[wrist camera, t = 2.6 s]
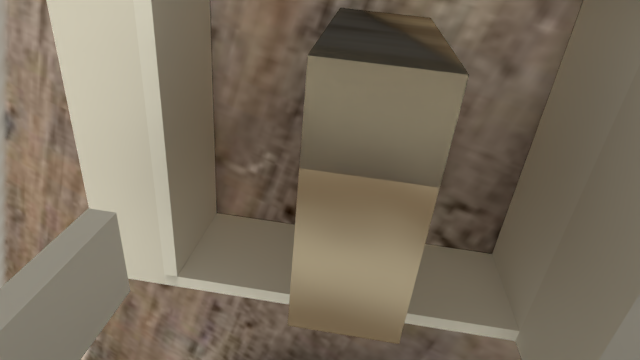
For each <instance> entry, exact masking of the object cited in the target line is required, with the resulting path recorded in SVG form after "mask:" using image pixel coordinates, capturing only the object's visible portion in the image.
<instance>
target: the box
mask: <svg viewBox="0 0 640 360" xmlns="http://www.w3.org/2000/svg"><path fill="white" fill-rule="evenodd" d="M468 77H469V74H468V73H467V71H466V70H465V68H464V67H463V65H462V64H461V62H460V61H459V59H458V58H457V56H456V55H455V53H454V52H453V50H452V49H451V47H450V46H449V44H448V43H447V41H446V40H445V39H444V37H443V36H442V34H441V33H440V31H439V30H438V28H437V27H436V25H435V24H434V22H433V21H432V19H431V18H425V17H416V16H407V15H398V14H390V13H381V12H372V11H363V10H354V9H345V8H340V9H339V11H338V12H337V14H336V15H335V17H334V18H333V19H332V21H331V22H330V24H329V25H328V27H327V28H326V30H325V31H324V32H323V34H322V35H321V37H320V38H319V40H318V41H317V43H316V44H315V45H314V47H313V48H312V50H311V51H310V53H309V54H308V58H307V71H306V85H305V98H304V111H303V125H302V138H301V152H300V165H299V178H298V192H297V205H296V219H295V232H294V245H293V259H292V272H291V286H290V299H289V312H288V326H293V327H299V328H305V329H311V330H317V331H323V332H329V333H335V334H341V335H348V336H354V337H360V338H366V339H372V340H378V341H384V342H390V343H396V344H399V342H400V338H401V334H402V331H403V327H404V323H405V319H406V315H407V311H408V307H409V304H410V300H411V296H412V292H413V288H414V284H415V281H416V277H417V273H418V269H419V265H420V261H421V258H422V254H423V250H424V246H425V242H426V238H427V235H428V231H429V227H430V223H431V219H432V215H433V212H434V208H435V204H436V200H437V196H438V192H439V189H440V185H441V181H442V177H443V173H444V169H445V166H446V162H447V158H448V154H449V150H450V146H451V142H452V139H453V135H454V131H455V127H456V123H457V119H458V116H459V112H460V108H461V104H462V100H463V96H464V93H465V89H466V85H467V81H468Z"/></svg>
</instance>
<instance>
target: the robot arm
mask: <svg viewBox="0 0 640 360" xmlns="http://www.w3.org/2000/svg"><path fill="white" fill-rule="evenodd" d="M129 292H130V287H129V281H128V275H127V270H126V264H125V258H124V253H123V247H122V242H121V236H120V230H119V225H118V219H117V213H115V212H109V211H102V210H95V209H89V208H88V209H87V210H86V211H85V212H84V213H83V214H82V215H81V216H79V217H78V218H77V219H76V220H75V221H74V222H73V223H72V224H71V225H70V226H68V227H67V228H66V229H65V230H64V231H63V232H62V233H61V234H60V235H59V236H57V237H56V238H55V239H54V240H53V241H52V242H51V243H50V244H49V245H47V246H46V247H45V248H44V249H43V250H42V251H41V252H40V253H39V254H38V255H36V256H35V257H34V258H33V259H32V260H31V261H30V262H29V263H28V264H27V265H25V266H24V267H23V268H22V269H21V270H20V271H19V272H18V273H17V274H16V275H14V276H13V277H12V278H11V279H10V280H9V281H8V282H7V283H6V284H5V285H3V286H2V287H1V288H0V360H81V358H82V357H83V355H84V354H85V353H86V351H87V350H88V348H89V347H90V346H91V344H92V343H93V342H94V340H95V339H96V337H97V336H98V335H99V333H100V332H101V331H102V329H103V328H104V326H105V325H106V324H107V322H108V321H109V319H110V318H111V317H112V315H113V314H114V313H115V311H116V310H117V308H118V307H119V306H120V304H121V303H122V301H123V300H124V299H125V297H126V296H127V295H128V293H129ZM599 360H640V294H639V296H638V298H637V299H636V301H635V302H634V304H633V306H632V307H631V309H630V310H629V312H628V314H627V315H626V317H625V318H624V320H623V322H622V323H621V325H620V326H619V328H618V330H617V331H616V333H615V334H614V336H613V338H612V339H611V341H610V342H609V344H608V346H607V347H606V349H605V351H604V352H603V354H602V355H601V357H600V359H599Z"/></svg>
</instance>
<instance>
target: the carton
mask: <svg viewBox="0 0 640 360" xmlns="http://www.w3.org/2000/svg"><path fill="white" fill-rule="evenodd" d="M46 1H47V5H48V10H49V15H50V20H51V25H52V30H53V35H54V40H55V45H56V49H57V54H58V59H59V64H60V69H61V74H62V79H63V84H64V89H65V93H66V98H67V103H68V108H69V113H70V118H71V123H72V128H73V133H74V137H75V142H76V147H77V152H78V157H79V162H80V167H81V172H82V177H83V181H84V186H85V191H86V196H87V201H88V206H89V209H95V210H102V211H109V212H115V213H117V219H118V225H119V230H120V236H121V242H122V247H123V253H124V258H125V264H126V270H127V275H128V278H129V279H135V280H141V281H147V282H153V283H159V284H166V285H172V286H178V287H184V288H190V289H196V290H203V291H209V292H215V293H221V294H227V295H234V296H240V297H246V298H252V299H258V300H264V301H271V302H277V303H283V304H289V299H290V286H291V272H292V259H293V245H294V232H295V225H294V224H287V223H281V222H274V221H267V220H260V219H254V218H247V217H240V216H234V215H227V214H220V213H217V204H216V174H215V143H214V112H213V82H212V51H211V21H210V0H46ZM639 294H640V0H583V3H582V6H581V9H580V11H579V14H578V17H577V20H576V22H575V25H574V28H573V31H572V34H571V36H570V39H569V42H568V45H567V47H566V50H565V53H564V56H563V59H562V61H561V64H560V67H559V70H558V72H557V75H556V78H555V81H554V83H553V86H552V89H551V92H550V95H549V97H548V100H547V103H546V106H545V108H544V111H543V114H542V117H541V120H540V122H539V125H538V128H537V131H536V133H535V136H534V139H533V142H532V145H531V147H530V150H529V153H528V156H527V158H526V161H525V164H524V167H523V169H522V172H521V175H520V178H519V181H518V183H517V186H516V189H515V192H514V194H513V197H512V200H511V203H510V206H509V208H508V211H507V214H506V217H505V219H504V222H503V225H502V228H501V231H500V233H499V236H498V239H497V242H496V244H495V247H494V250H493V253H492V254H489V253H482V252H475V251H469V250H462V249H455V248H448V247H442V246H435V245H428V244H425V246H424V250H423V254H422V258H421V261H420V265H419V269H418V273H417V277H416V281H415V284H414V288H413V292H412V296H411V300H410V304H409V307H408V311H407V315H406V319H405V323H407V324H413V325H419V326H425V327H431V328H437V329H444V330H450V331H456V332H462V333H468V334H474V335H481V336H487V337H493V338H499V339H505V340H512V341H515V342H516V345H517V348H518V351H519V354H520V357H521V360H599V359H600V357H601V355H602V354H603V352H604V351H605V349H606V347H607V346H608V344H609V342H610V341H611V339H612V338H613V336H614V334H615V333H616V331H617V330H618V328H619V326H620V325H621V323H622V322H623V320H624V318H625V317H626V315H627V314H628V312H629V310H630V309H631V307H632V306H633V304H634V302H635V301H636V299H637V298H638V296H639Z"/></svg>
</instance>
